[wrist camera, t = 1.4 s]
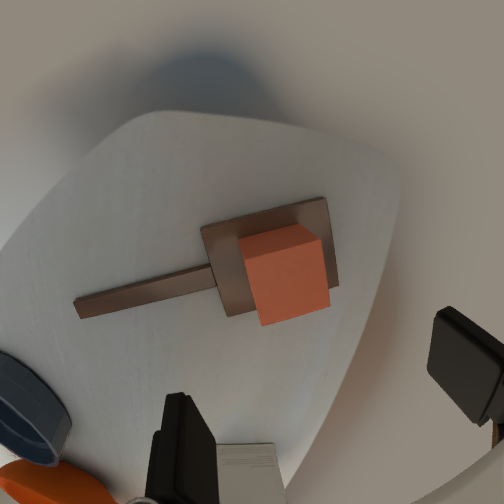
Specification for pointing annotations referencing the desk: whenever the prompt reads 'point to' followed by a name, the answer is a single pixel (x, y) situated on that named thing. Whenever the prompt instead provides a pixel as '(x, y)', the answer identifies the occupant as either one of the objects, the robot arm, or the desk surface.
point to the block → (285, 273)
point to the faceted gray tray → (30, 416)
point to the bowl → (51, 484)
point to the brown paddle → (221, 263)
